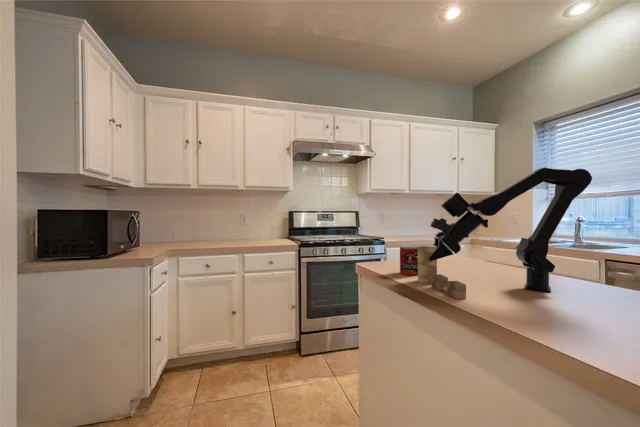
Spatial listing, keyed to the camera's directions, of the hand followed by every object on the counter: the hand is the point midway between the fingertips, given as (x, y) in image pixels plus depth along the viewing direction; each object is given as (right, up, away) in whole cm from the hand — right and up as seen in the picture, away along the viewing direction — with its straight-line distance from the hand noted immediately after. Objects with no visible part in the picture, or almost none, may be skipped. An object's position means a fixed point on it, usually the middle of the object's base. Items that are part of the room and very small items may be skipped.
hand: (428, 258), depth 99 cm
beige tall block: (0, -8, 0) cm, 8 cm away
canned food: (-2, -9, +13) cm, 16 cm away
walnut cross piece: (+1, -8, -13) cm, 15 cm away
